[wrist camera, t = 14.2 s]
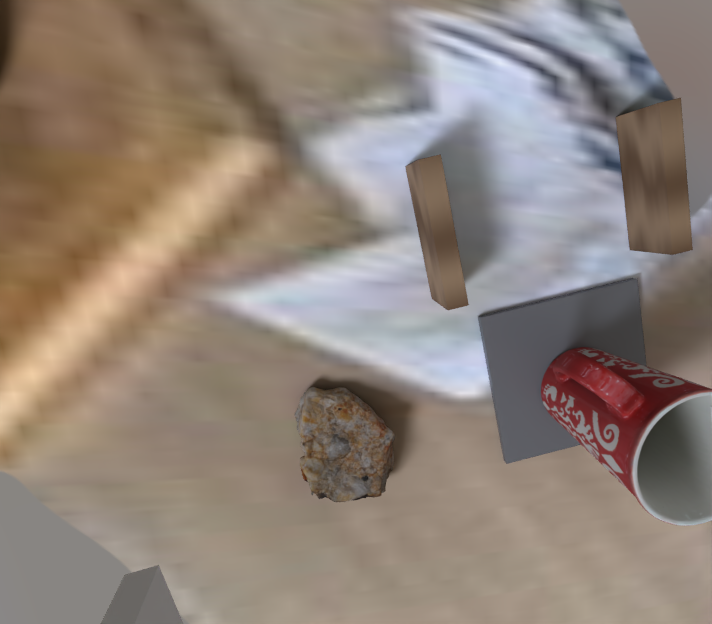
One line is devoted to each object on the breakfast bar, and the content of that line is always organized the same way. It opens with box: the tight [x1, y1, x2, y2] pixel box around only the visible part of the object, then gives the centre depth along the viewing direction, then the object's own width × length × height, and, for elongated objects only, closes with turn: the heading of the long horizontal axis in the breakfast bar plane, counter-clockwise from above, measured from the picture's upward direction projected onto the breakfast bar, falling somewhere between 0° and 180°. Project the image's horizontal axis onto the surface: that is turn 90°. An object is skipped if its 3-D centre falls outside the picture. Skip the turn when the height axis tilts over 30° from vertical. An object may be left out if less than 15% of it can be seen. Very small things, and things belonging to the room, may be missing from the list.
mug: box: [541, 347, 712, 526], centre depth 35 cm, size 13×9×14 cm
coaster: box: [478, 278, 647, 464], centre depth 42 cm, size 14×14×1 cm
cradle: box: [406, 98, 693, 310], centre depth 37 cm, size 11×19×5 cm, turn 103°
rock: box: [295, 387, 395, 502], centre depth 40 cm, size 9×6×10 cm
